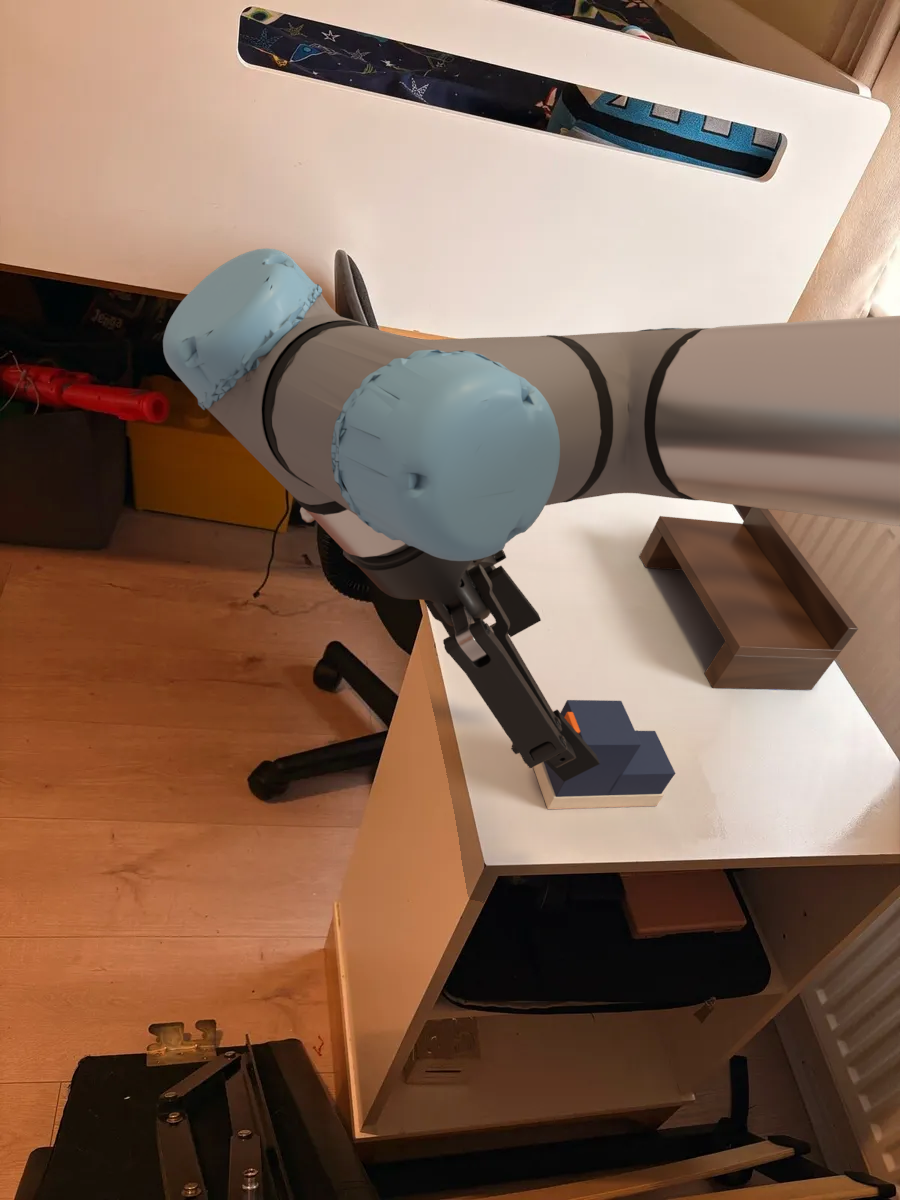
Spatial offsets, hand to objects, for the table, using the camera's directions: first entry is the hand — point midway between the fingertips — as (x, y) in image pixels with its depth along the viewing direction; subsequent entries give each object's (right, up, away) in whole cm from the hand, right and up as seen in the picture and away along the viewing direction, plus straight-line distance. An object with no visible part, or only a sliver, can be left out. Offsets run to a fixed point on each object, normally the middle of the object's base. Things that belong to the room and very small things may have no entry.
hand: (550, 692), depth 65 cm
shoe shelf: (+22, +5, +32) cm, 39 cm away
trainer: (+5, -9, +10) cm, 14 cm away
